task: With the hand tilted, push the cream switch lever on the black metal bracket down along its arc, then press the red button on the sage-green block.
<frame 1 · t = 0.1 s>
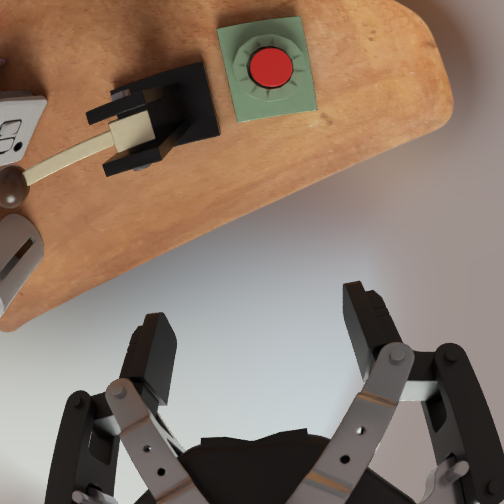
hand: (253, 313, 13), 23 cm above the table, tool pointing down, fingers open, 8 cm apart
lever: (66, 157, 18), point 13 cm above the table, hinge at 26.0°
cup: (21, 240, 37), on the table
bracket: (165, 109, 29), on the table
electrical switch: (22, 121, 28), on the table
button block: (267, 67, 27), on the table
button: (270, 67, 24), point 4 cm above the table, slide at 0.1 cm
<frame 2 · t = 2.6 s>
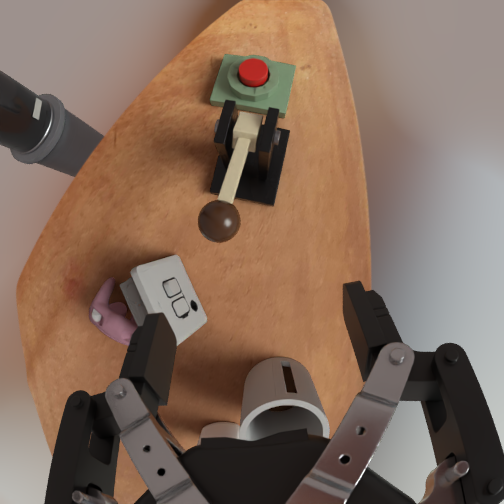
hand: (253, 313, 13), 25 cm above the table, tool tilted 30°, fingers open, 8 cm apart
lever: (234, 171, 25), point 13 cm above the table, hinge at 26.0°
cup: (278, 387, 39), on the table
bracket: (250, 162, 38), on the table
video game controller: (134, 310, 39), on the table
electrical switch: (176, 296, 39), on the table
button block: (253, 86, 38), on the table
eye dropper bottle: (222, 429, 39), on the table
button: (253, 72, 34), point 4 cm above the table, slide at 0.1 cm
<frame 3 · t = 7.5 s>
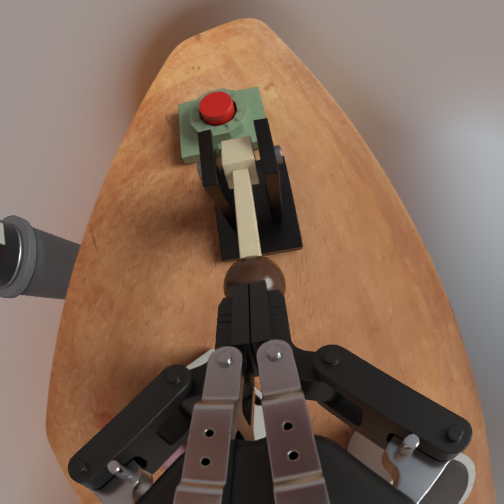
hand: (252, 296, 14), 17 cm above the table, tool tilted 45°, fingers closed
lever: (246, 214, 19), point 13 cm above the table, hinge at 23.0°, touching gripper
cup: (386, 445, 26), on the table
bracket: (255, 209, 32), on the table
electrical switch: (230, 396, 29), on the table
button block: (223, 127, 35), on the table
button: (217, 108, 31), point 4 cm above the table, slide at 0.1 cm
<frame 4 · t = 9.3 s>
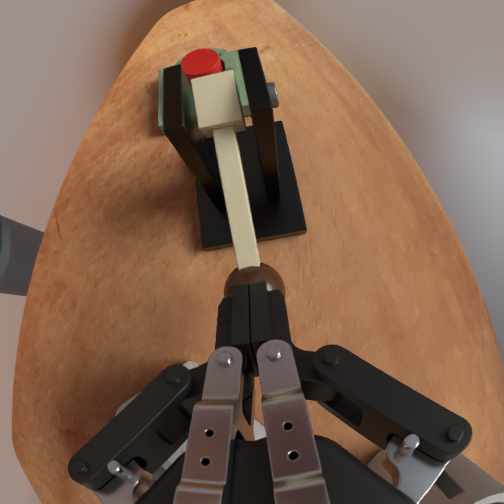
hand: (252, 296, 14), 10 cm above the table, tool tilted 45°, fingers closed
lever: (236, 199, 16), point 9 cm above the table, hinge at -19.7°, touching gripper
cup: (406, 475, 19), on the table
bracket: (246, 184, 26), on the table
electrical switch: (214, 419, 22), on the table
button block: (210, 92, 28), on the table
button: (201, 66, 24), point 4 cm above the table, slide at 0.1 cm
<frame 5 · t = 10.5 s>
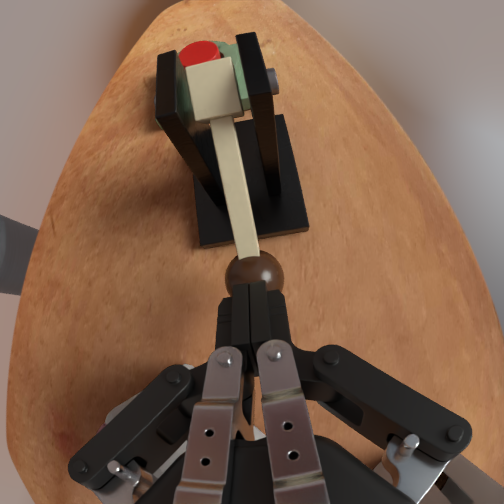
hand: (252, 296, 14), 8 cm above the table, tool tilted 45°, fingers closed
lever: (236, 190, 15), point 8 cm above the table, hinge at -30.6°
cup: (411, 482, 18), on the table
bracket: (246, 179, 24), on the table
electrical switch: (211, 425, 21), on the table
button block: (210, 86, 27), on the table
button: (199, 59, 23), point 4 cm above the table, slide at 0.1 cm
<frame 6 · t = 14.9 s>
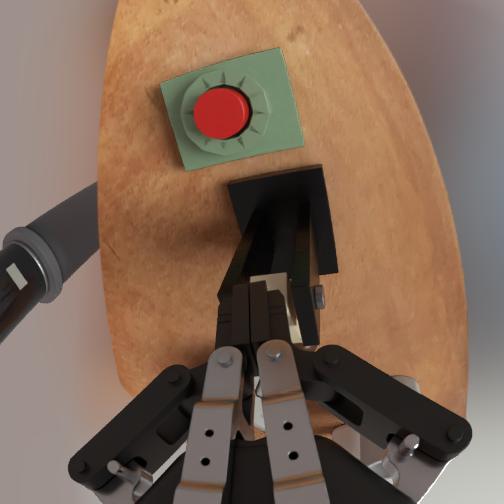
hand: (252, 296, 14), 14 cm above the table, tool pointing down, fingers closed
lever: (289, 326, 23), point 8 cm above the table, hinge at -30.6°
cup: (388, 393, 38), on the table
bracket: (287, 225, 28), on the table
electrical switch: (270, 365, 38), on the table
button block: (234, 109, 23), on the table
eye dropper bottle: (349, 426, 43), on the table
button: (221, 112, 20), point 4 cm above the table, slide at 0.1 cm
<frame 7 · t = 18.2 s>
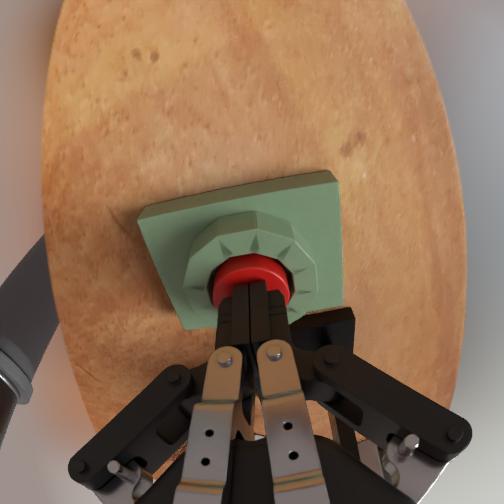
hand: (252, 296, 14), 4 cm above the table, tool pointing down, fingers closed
cup: (374, 444, 38), on the table
bracket: (300, 359, 24), on the table
button block: (249, 250, 18), on the table
button: (250, 287, 15), point 3 cm above the table, slide at -0.6 cm, touching gripper
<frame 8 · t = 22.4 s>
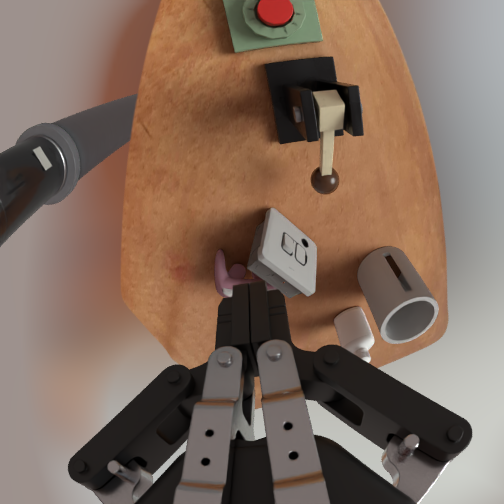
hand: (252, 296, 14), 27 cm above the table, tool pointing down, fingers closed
lever: (326, 149, 29), point 8 cm above the table, hinge at -30.6°
cup: (382, 269, 48), on the table
bracket: (304, 98, 33), on the table
video game controller: (248, 263, 47), on the table
electrical switch: (282, 237, 44), on the table
button block: (271, 16, 28), on the table
eye dropper bottle: (347, 314, 53), on the table
button: (274, 10, 24), point 4 cm above the table, slide at 0.1 cm
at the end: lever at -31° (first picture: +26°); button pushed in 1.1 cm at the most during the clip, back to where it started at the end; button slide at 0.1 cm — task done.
